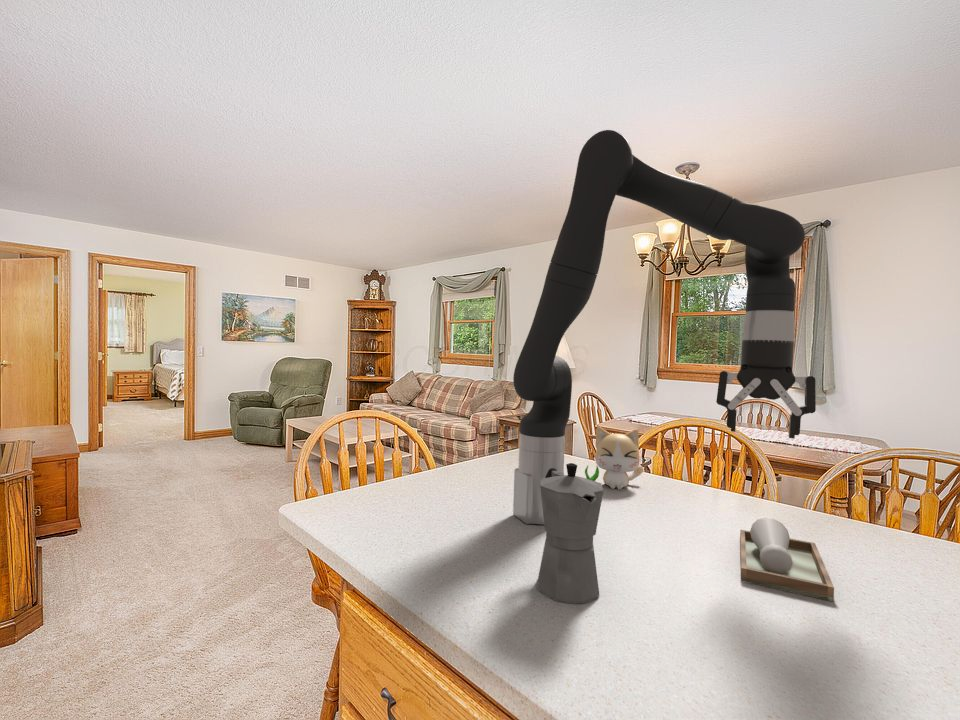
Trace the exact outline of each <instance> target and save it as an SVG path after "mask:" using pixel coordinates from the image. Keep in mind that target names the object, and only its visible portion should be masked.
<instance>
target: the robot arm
mask: <svg viewBox="0 0 960 720" xmlns="http://www.w3.org/2000/svg"><path fill="white" fill-rule="evenodd" d="M616 196H617V197H622V198H626V199H629V200H631V201H635V202H637V203H640V204H642V205H645V206H647V207H650V208H651V209H654V210H657V211H658V212H661V213H663V214H665V215H666V216H669V217H670V218H672V219H675V220H676V221H678V222H680V223H683V224H684V225H687V226H688V227H690V228H691V229H692V228H693V229H695V230H697V231H698V232H701V233H703V234H704V235H707V236H710V237H711V238H714V239H717V240H719V241H734V242H736V243H738V244H741V245H744V246H745V251H744V252H745V253H744V256H745V257H744V259H745V260H744V261H745V273H746V280H747V289H746V297H745V298H746V299H745V313H744V318H743V323H742V324H743V325H742V333H741V337H742V338H741V339H742V340H741V353H740V354H741V355H740V356H741V357H740V366H739V367H740V368H739V371H738V372H730V371H726V370H721V371H720V372H719V378H718V386H717V387H718V388H717V393H716V399H715V400H716V401H715V402H716V404H717V405H719V406H722V407H724V408H725V409H726V411H727V414H726V426H727V428H729V429H730V432H732V433H733V432H734V433H735V432H736V427H737V426H736V425H737V411H738V410H737V409H736V408H737V407H738V406H739V405H740V404H741V403H742V402H743V401H745V400H746V399H747V397H748V396H749V397H751V398H753V399H757V400H758V399H767V400H772V401H773V400H774V401H775V400H778V399H781V400H782V401H783V403H784V404H785V405H786V407H788V409H789V410H790V412H791V414H789V422H788V438H789V439H795V437H796V436H799V435H800V433H801V421H802V420H801V419H802V416H804V415H807V414H808V415H809V414H814V413H815V412H816V409H817V407H816V406H817V405H816V404H817V401H816V396H817V395H816V392H817V391H816V378H815V377H814V376H813V375H807V376H798V375H797V376H796V375H794V372H793V368H794V367H793V365H794V364H793V363H794V350H795V349H794V347H795V336H796V335H795V334H796V321H795V304H796V284H795V280H793V278H791V277H790V257H791V256H792V255H794V254H795V253H797V252H798V251H799V249H801V247H802V246H803V244H804V241H805V238H806V233H805V229H804V227H803V225H802V223H801V222H800V221H798V219H796V218H795V217H794V216H792V215H790V214H788V213H786V212H783V211H780V210H777V209H775V208H770V207H767V206H762V205H759V204H754V203H749V202H744V201H742V200H741V199H739V198H737V197H735V196H732V195H730V194H728V193H726V192H723V191H721V190H719V189H716V188H714V187H711V186H709V185H707V184H705V183H704V184H703V183H700V182H697V181H694V180H692V179H691V180H690V179H687V178H686V179H685V178H682V177H678V176H675V175H672V174H669V173H666V172H663V171H661V170H659V169H657V168H655V167H653V166H651V165H650V164H648V163H646V162H644V161H643V160H642V159H640V158H639V157H637V156H635V155H634V154H633V152H632V147H631V145H630V142H629V141H628V140H627V138H625V136H624V135H623V134H621V133H620V132H619V131H616V130H613V129H604V130H601V131H598V132H596V133H594V134H593V135H592V136H591V137H590V138H588V140H586V141H585V144H583V146H582V149H581V150H580V153H579V156H578V160H577V165H576V173H575V177H574V183H573V187H572V193H571V197H570V201H569V206H568V210H567V213H566V216H565V218H564V221H563V223H562V225H561V226H562V227H561V230H560V233H559V234H558V238H557V241H556V243H555V247H554V251H553V253H552V255H551V259H550V263H549V266H548V270H547V273H546V276H545V281H544V283H543V286H542V287H543V288H542V291H541V295H540V298H539V301H538V304H537V307H536V310H535V314H534V317H533V319H532V323H531V327H530V328H529V332H528V334H527V336H526V339H525V341H524V343H523V347H522V349H521V351H520V354H519V356H518V359H517V361H516V365H515V367H514V371H513V386H514V387H513V388H514V391H515V392H516V394H517V396H518V397H519V398H521V399H522V400H524V401H527V402H532V407H531V408H530V410H529V412H528V413H527V414H526V415H524V416H523V417H522V418H521V419H520V421H519V433H518V434H519V440H518V441H519V442H518V443H519V444H518V468H514V474H513V475H514V476H513V501H512V503H513V504H512V505H513V507H512V515H514V516H515V517H516V518H518V519H519V520H520V521H522V522H523V523H524V524H526V525H529V524H530V525H531V524H533V525H544V517H543V507H542V498H541V489H540V483H541V479H543V478H545V476H546V474H547V472H548V470H549V469H550V468H555V469H557V470H558V471H561V472H563V473H564V471H565V469H564V468H565V467H564V466H565V440H566V439H565V437H566V427H567V424H568V422H569V419H570V415H571V404H572V403H571V402H572V391H573V390H572V389H573V379H572V378H573V376H572V372H571V371H572V370H571V368H570V366H569V364H568V361H566V360H565V359H564V358H562V357H560V356H557V352H558V349H559V346H560V344H561V341H562V338H563V337H564V335H565V333H566V332H567V331H568V329H569V328H570V326H571V325H572V324H573V323H574V321H575V320H576V319H577V318H578V316H579V315H580V314H581V312H582V311H583V310H584V308H585V306H586V305H587V304H588V301H590V298H591V296H592V292H593V290H594V287H595V282H596V280H597V277H598V274H599V270H600V265H601V261H602V256H603V250H604V244H605V236H606V230H607V229H606V228H607V223H608V219H609V214H610V211H611V210H612V209H611V208H612V207H613V203H614V200H615V198H616ZM735 379H736V380H737V381H738V383H739V384H740V385H741V387H742V389H741V390H740V391H739V392H738V393H737V394H736V395H734V397H733V398H732V399H731V400H728V399H726V392H727V385H730V384H732V382H733V380H735ZM796 383H797V384H798V385H799V388H800V389H802V390H804V405H802V406H801V405H800V406H798V404H797V403H796V401H794V399H793V398H792V397H791V395H790V393H788V390H789V389H790V388H791V387H793V386H794V384H796ZM564 474H565V473H564Z"/></svg>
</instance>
